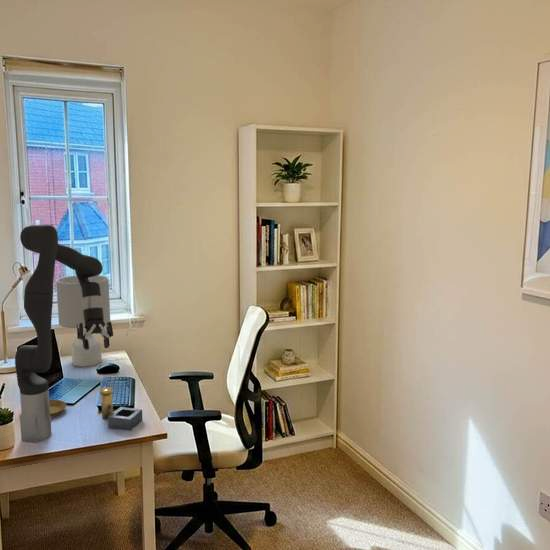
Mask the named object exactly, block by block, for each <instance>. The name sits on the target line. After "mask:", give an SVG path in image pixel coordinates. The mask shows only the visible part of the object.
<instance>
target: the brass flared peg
mask: <svg viewBox="0 0 550 550" xmlns="http://www.w3.org/2000/svg"><path fill="white" fill-rule="evenodd" d="M113 393H114V388H113V387H110V386H109V387H103V388H100V389H99V394H100V396H101V397H100V399H101V400H100V401H101V417H102V419H104V420H108V416H109V415H111V414H112V413H113V412H114V408H113V407H114V406H113V405H114V404H113V402H114V401H113Z"/></svg>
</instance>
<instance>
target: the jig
mask: <svg viewBox="0 0 550 550" xmlns="http://www.w3.org/2000/svg"><path fill="white" fill-rule="evenodd" d="M142 422H143V409H141V408H132V407H126V406H123V407H122V406H120V407H119V408H117V409H116V410H114V411H113V413H112V414H111V415H109V416H108V419H107V426H108V427H107V428H108V429H112V430H120V431H127V432H131V431H133V430H134V429H135V428H136V427H137V426H138V425H140V424H141V423H142Z"/></svg>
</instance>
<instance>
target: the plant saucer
mask: <svg viewBox="0 0 550 550" xmlns="http://www.w3.org/2000/svg"><path fill="white" fill-rule="evenodd" d="M49 402H50V417H51V418H54V417H56V416H58V415H60V414H61V413H62V412H63V411H64V410H65V409H66V408H67V403H66V402H65V401H64V400H60V399H49Z"/></svg>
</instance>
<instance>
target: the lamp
mask: <svg viewBox="0 0 550 550" xmlns="http://www.w3.org/2000/svg"><path fill="white" fill-rule="evenodd" d="M88 279H89V281H90V282H97V283H98V284H99V285H100V293H101V299H102V306H103V315H104V323H107V322H111V308H110V287H109V286H110V284H109V283H110V281H109V277H108V276H106V275H101V274H100V275H98V276H93V277H89V278H88ZM55 282H56V298H57V300H56V301H57V315H58V316H57V318H58V325H59V326H60V327H62V328H66V329H67V328H69V329H77V324H79V323H83V324H84V323H85V321H84V315H83V304H82V302H83V297H82V289H81V286H80V283H79V280H78V278H77V275H76V274H75V275H68V276H62V277H60V278H57V279H56V281H55ZM85 331H86V328H85V327H84V328H83V336H84V333H85ZM87 340H88V342H89V349H88V350H85V348H83V341H82V340H81V339H78V338H77V337H76V338H75V340H73V342H72V343H71V361H72V362H71V363H72V365H74V366H75V367H81V368H83V367H91V366H95V365H98V364H100V363H101V362H102V358H103V357H102V344H101V340H99V339H98V338H97V337H95V335H94V334H91V335H90V336H89V337H88V339H87Z"/></svg>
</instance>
